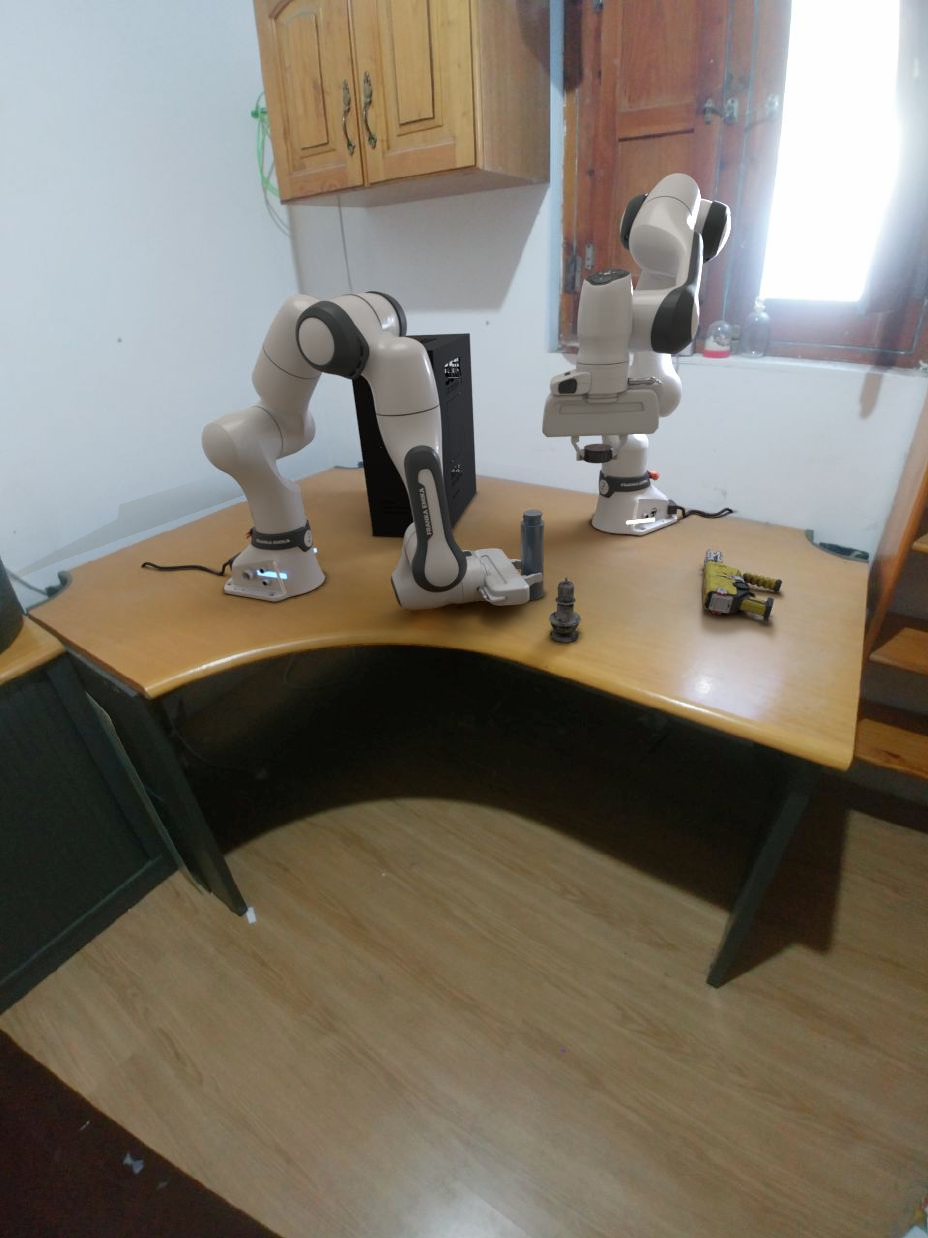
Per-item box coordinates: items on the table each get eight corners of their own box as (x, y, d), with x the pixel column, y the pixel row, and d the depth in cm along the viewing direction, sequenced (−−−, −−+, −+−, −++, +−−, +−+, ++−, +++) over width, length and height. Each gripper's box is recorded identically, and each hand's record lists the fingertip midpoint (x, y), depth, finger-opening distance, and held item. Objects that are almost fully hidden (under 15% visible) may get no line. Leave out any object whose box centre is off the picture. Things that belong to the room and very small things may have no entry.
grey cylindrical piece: (525, 601, 125) (525, 518, 116) (517, 591, 129) (517, 510, 120) (546, 597, 126) (548, 514, 117) (538, 587, 130) (539, 507, 121)
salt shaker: (579, 643, 110) (582, 585, 104) (547, 641, 111) (548, 583, 105) (580, 627, 115) (583, 570, 109) (549, 625, 116) (551, 569, 110)
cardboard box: (446, 538, 156) (432, 350, 134) (372, 535, 161) (348, 352, 138) (476, 491, 188) (469, 333, 165) (414, 490, 192) (399, 335, 170)
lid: (601, 454, 113) (601, 441, 112) (617, 460, 109) (618, 447, 108) (577, 458, 112) (578, 446, 110) (593, 465, 107) (594, 452, 106)
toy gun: (779, 558, 129) (706, 546, 133) (794, 606, 109) (707, 591, 113) (773, 578, 131) (701, 566, 135) (786, 629, 111) (701, 613, 115)
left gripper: (484, 588, 112) (554, 577, 115) (459, 547, 130) (520, 538, 132) (485, 617, 116) (553, 606, 118) (461, 573, 133) (521, 564, 135)
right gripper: (661, 373, 105) (653, 453, 112) (542, 378, 107) (541, 456, 114) (667, 379, 99) (658, 462, 106) (542, 384, 102) (542, 465, 109)
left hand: (536, 570), depth 125 cm, fingers closed on grey cylindrical piece, 5 cm apart
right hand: (597, 459), depth 110 cm, fingers closed on lid, 5 cm apart
